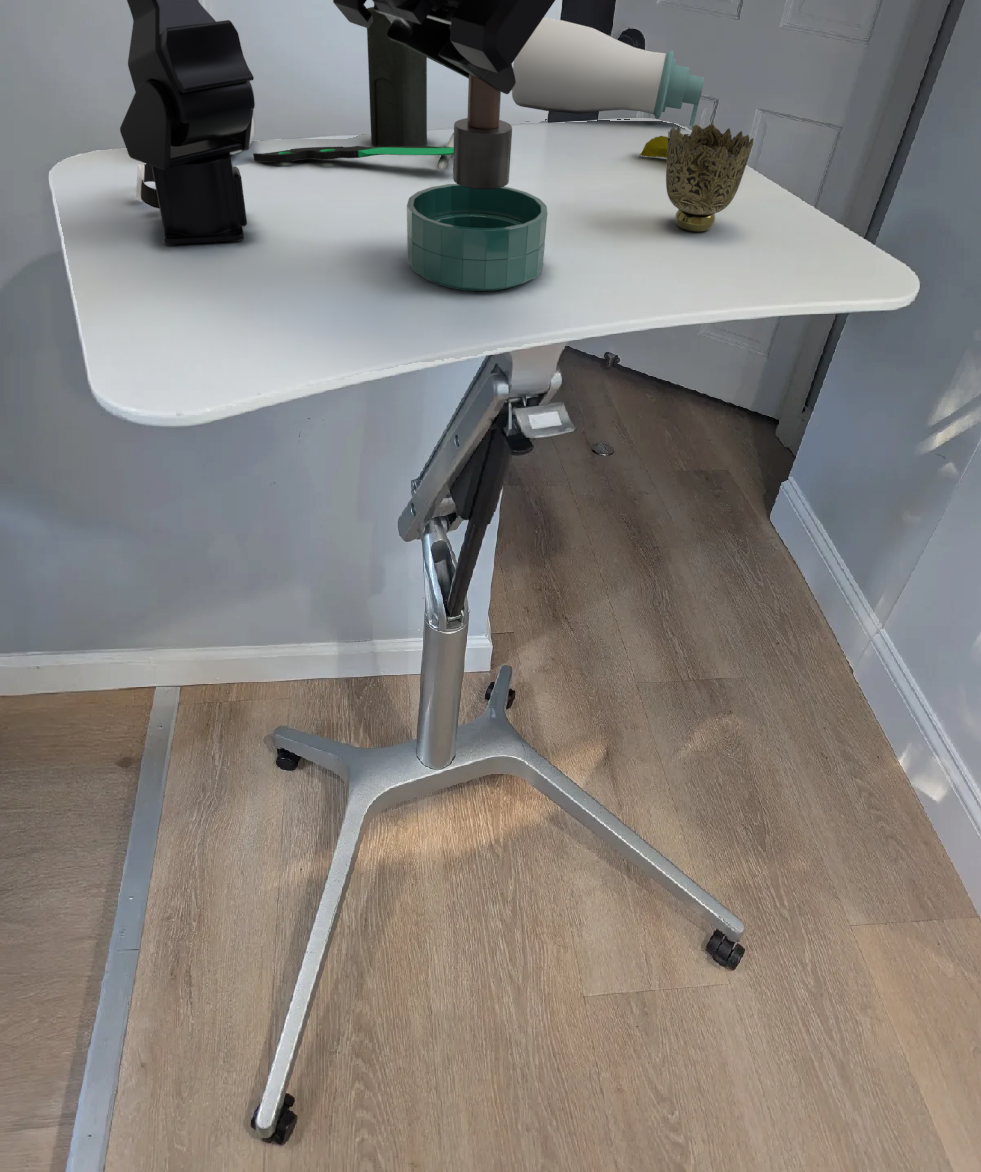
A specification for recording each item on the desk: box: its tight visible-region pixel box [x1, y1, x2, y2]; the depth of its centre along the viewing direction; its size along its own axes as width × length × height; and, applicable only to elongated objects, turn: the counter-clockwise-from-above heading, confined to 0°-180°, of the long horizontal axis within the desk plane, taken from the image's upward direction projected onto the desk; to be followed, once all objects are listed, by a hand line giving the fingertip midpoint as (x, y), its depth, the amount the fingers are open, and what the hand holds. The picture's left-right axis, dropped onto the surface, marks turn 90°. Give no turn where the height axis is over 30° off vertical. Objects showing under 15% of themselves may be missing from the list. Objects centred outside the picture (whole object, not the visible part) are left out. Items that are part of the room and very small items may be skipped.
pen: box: [436, 132, 454, 172], centre depth 95 cm, size 1×14×1 cm, turn 174°
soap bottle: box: [511, 16, 705, 128], centre depth 110 cm, size 10×10×23 cm
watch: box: [135, 161, 160, 210], centre depth 81 cm, size 8×5×4 cm, turn 16°
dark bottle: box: [366, 2, 428, 147], centre depth 92 cm, size 5×5×25 cm
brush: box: [452, 74, 513, 189], centre depth 66 cm, size 4×4×12 cm
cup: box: [665, 123, 755, 233], centre depth 81 cm, size 8×7×8 cm
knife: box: [252, 144, 454, 163], centre depth 92 cm, size 23×1×5 cm
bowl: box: [406, 183, 548, 292], centre depth 72 cm, size 11×11×5 cm
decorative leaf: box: [638, 135, 669, 159], centre depth 98 cm, size 10×2×3 cm, turn 40°
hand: (499, 84), depth 67 cm, fingers closed on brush, 2 cm apart
